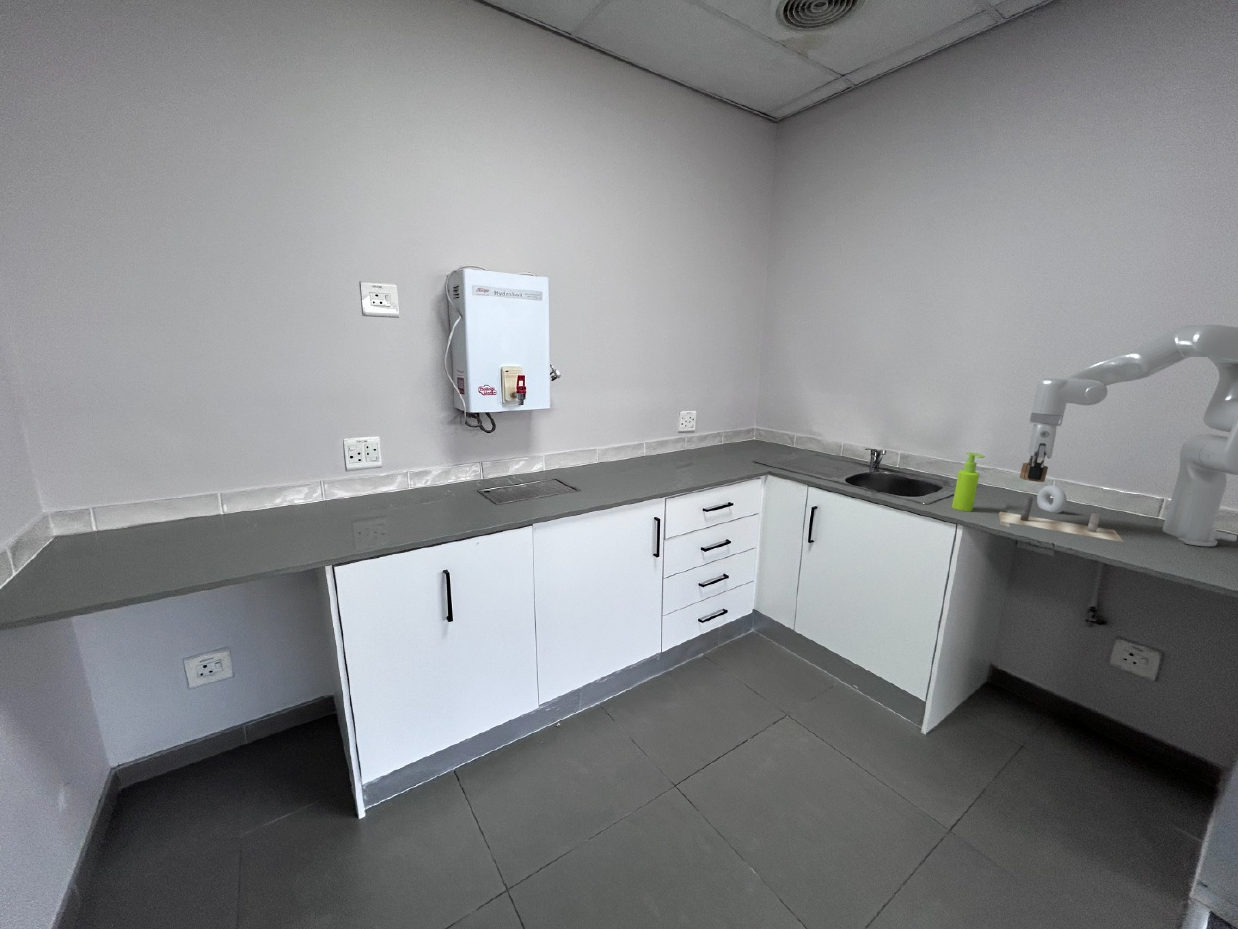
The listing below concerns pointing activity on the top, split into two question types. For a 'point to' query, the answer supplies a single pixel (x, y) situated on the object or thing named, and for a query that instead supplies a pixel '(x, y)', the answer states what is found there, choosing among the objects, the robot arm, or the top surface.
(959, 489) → the soap dispenser
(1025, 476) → the walnut ring
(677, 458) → the top surface
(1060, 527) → the peg board
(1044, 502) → the donut
